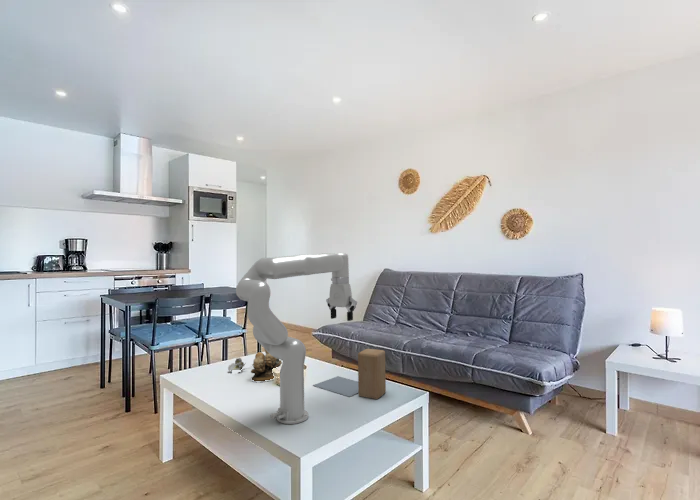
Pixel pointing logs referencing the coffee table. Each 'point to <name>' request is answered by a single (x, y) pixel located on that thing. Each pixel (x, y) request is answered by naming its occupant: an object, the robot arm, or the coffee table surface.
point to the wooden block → (371, 373)
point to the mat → (340, 386)
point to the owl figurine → (264, 366)
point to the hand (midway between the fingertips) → (341, 319)
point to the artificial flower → (236, 367)
